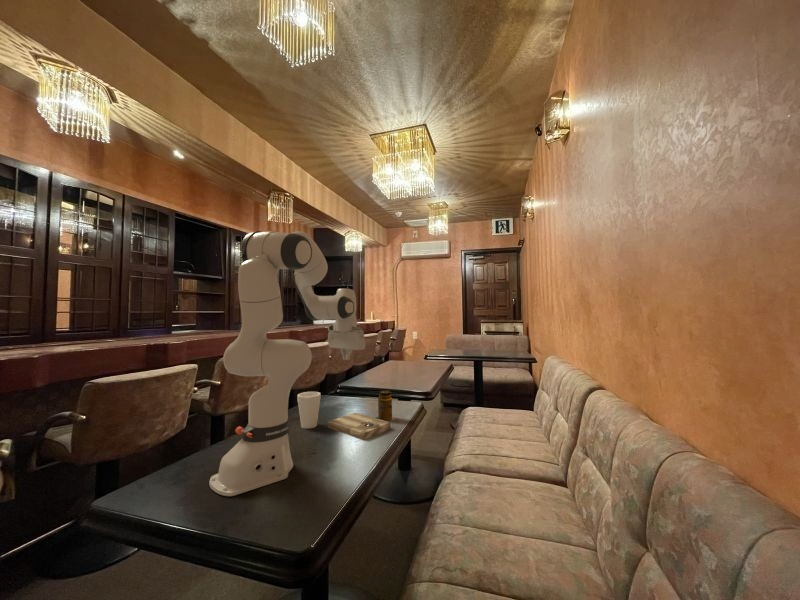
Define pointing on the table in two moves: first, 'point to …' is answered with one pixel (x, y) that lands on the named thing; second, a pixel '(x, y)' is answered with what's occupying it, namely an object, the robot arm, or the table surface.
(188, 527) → the table surface
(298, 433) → the table surface
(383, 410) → the condiment
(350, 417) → the wooden board
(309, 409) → the foam cup
